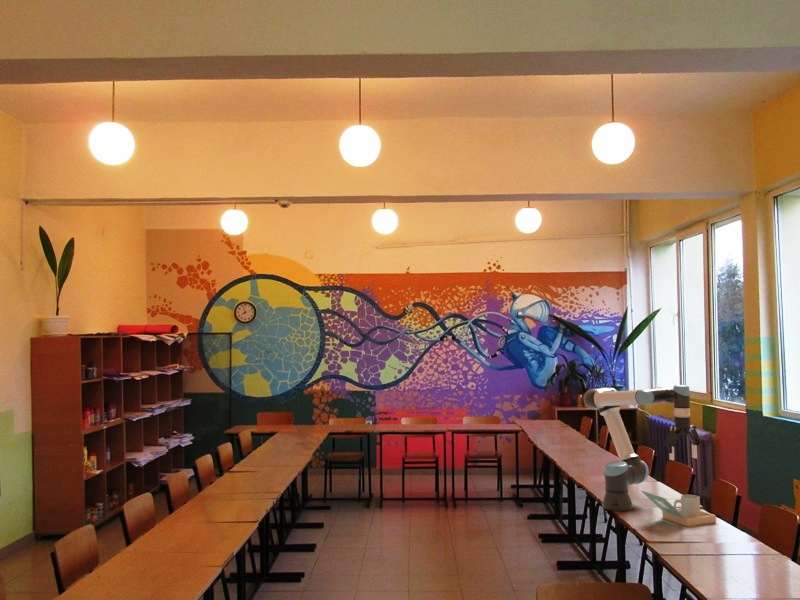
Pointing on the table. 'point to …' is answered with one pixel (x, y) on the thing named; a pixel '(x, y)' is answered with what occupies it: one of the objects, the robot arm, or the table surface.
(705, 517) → the box
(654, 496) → the lid
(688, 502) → the mug
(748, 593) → the table surface
